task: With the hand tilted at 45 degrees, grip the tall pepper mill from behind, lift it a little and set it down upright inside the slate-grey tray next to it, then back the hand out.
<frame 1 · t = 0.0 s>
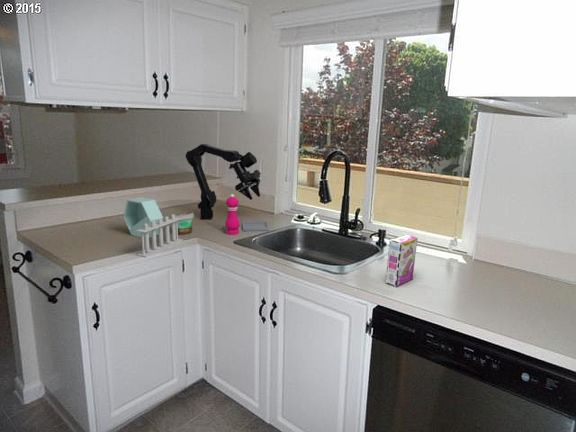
hand: (255, 198, 210), 15 cm above the worktop, tool tilted 35°, fingers open, 9 cm apart
test tube rack: (161, 248, 173), on the worktop
candy bar box: (399, 282, 143), on the worktop
food container: (184, 233, 195), on the worktop
planter: (144, 235, 190), on the worktop
pepper mill: (232, 233, 197), on the worktop
slate tray: (255, 227, 208), on the worktop
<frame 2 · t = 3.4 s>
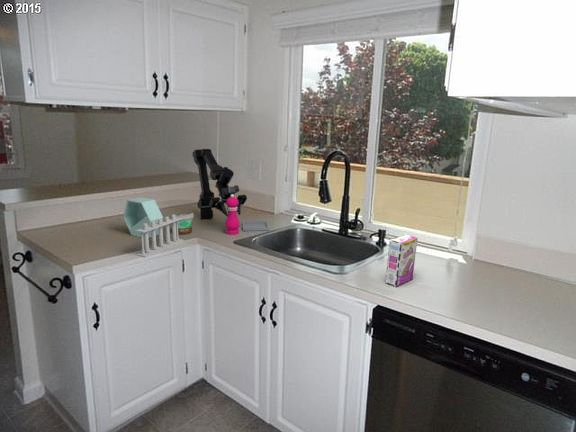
hand: (233, 215, 193), 10 cm above the worktop, tool tilted 45°, fingers open, 6 cm apart
pepper mill: (232, 233, 197), on the worktop, touching gripper
everything else where it was.
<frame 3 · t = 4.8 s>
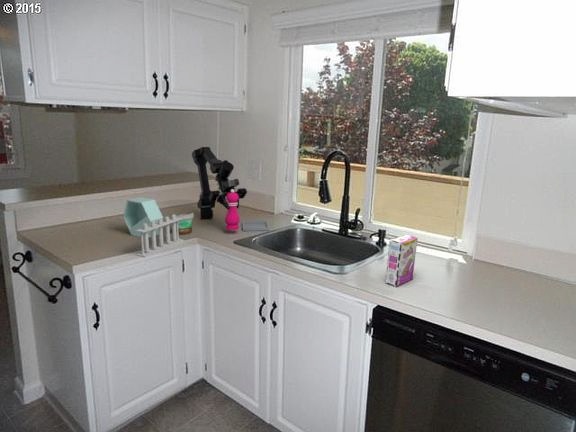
hand: (233, 208, 193), 13 cm above the worktop, tool tilted 45°, fingers closed on pepper mill, 5 cm apart
pepper mill: (232, 229, 196), point 2 cm above the worktop, touching gripper
everything else where it was.
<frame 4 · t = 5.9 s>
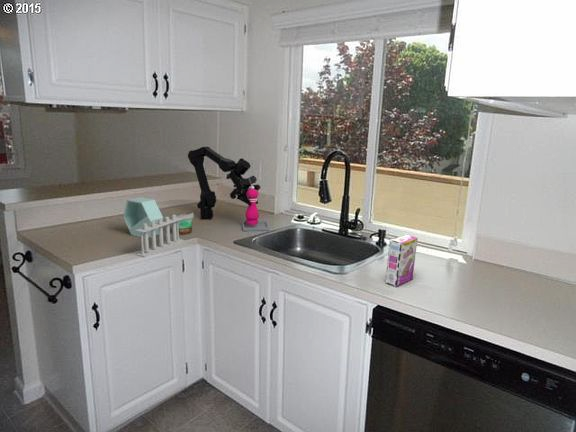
hand: (254, 204, 202), 13 cm above the worktop, tool tilted 45°, fingers closed on pepper mill, 5 cm apart
pepper mill: (252, 224, 205), point 3 cm above the worktop, touching gripper
everything else where it was.
when the fingers open (11 cm above the worktop, at t = 7.0 s): pepper mill stays where it is, resting on slate tray.
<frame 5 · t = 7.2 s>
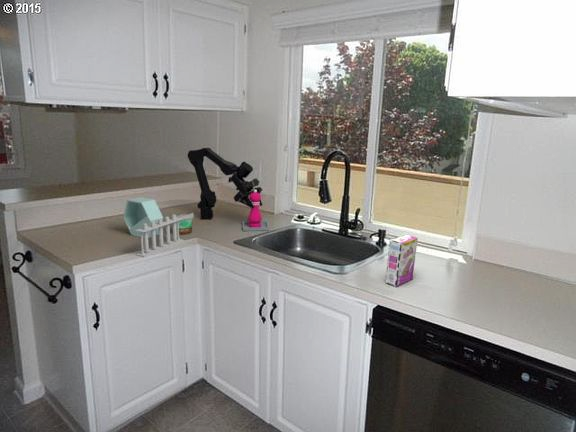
hand: (257, 206, 204), 12 cm above the worktop, tool tilted 45°, fingers open, 7 cm apart
pepper mill: (254, 227, 208), resting on slate tray
everything else where it was.
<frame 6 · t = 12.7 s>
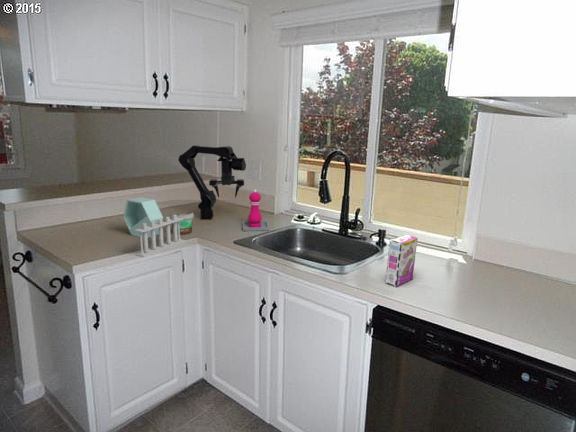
hand: (227, 197, 218), 13 cm above the worktop, tool pointing down, fingers open, 9 cm apart
nothing on the worktop moved.
at the end: pepper mill 0.2 cm off-centre on the slate tray, point 0.3 cm above the slate tray's base; pepper mill tilted 0°; the gripper is holding nothing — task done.
